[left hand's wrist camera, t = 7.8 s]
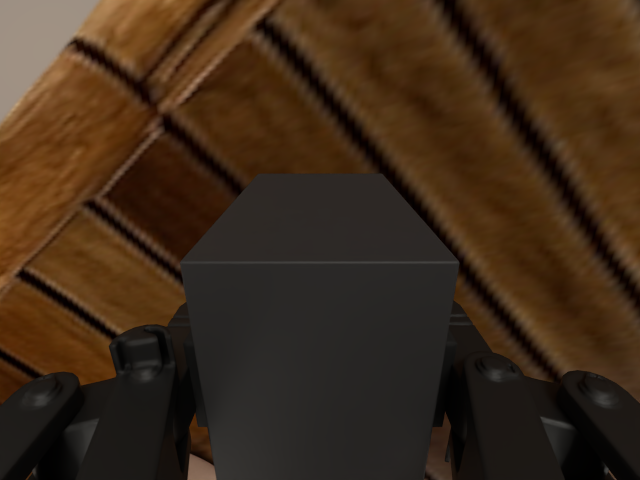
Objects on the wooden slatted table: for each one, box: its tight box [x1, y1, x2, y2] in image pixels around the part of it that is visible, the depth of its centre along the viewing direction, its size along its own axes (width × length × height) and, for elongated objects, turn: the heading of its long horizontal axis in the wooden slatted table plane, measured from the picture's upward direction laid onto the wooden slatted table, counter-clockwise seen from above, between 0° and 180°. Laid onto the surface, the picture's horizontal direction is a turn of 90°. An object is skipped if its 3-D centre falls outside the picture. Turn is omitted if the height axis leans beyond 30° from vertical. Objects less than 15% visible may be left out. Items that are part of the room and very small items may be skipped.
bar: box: [180, 174, 459, 480], centre depth 14 cm, size 22×5×8 cm, turn 0°
